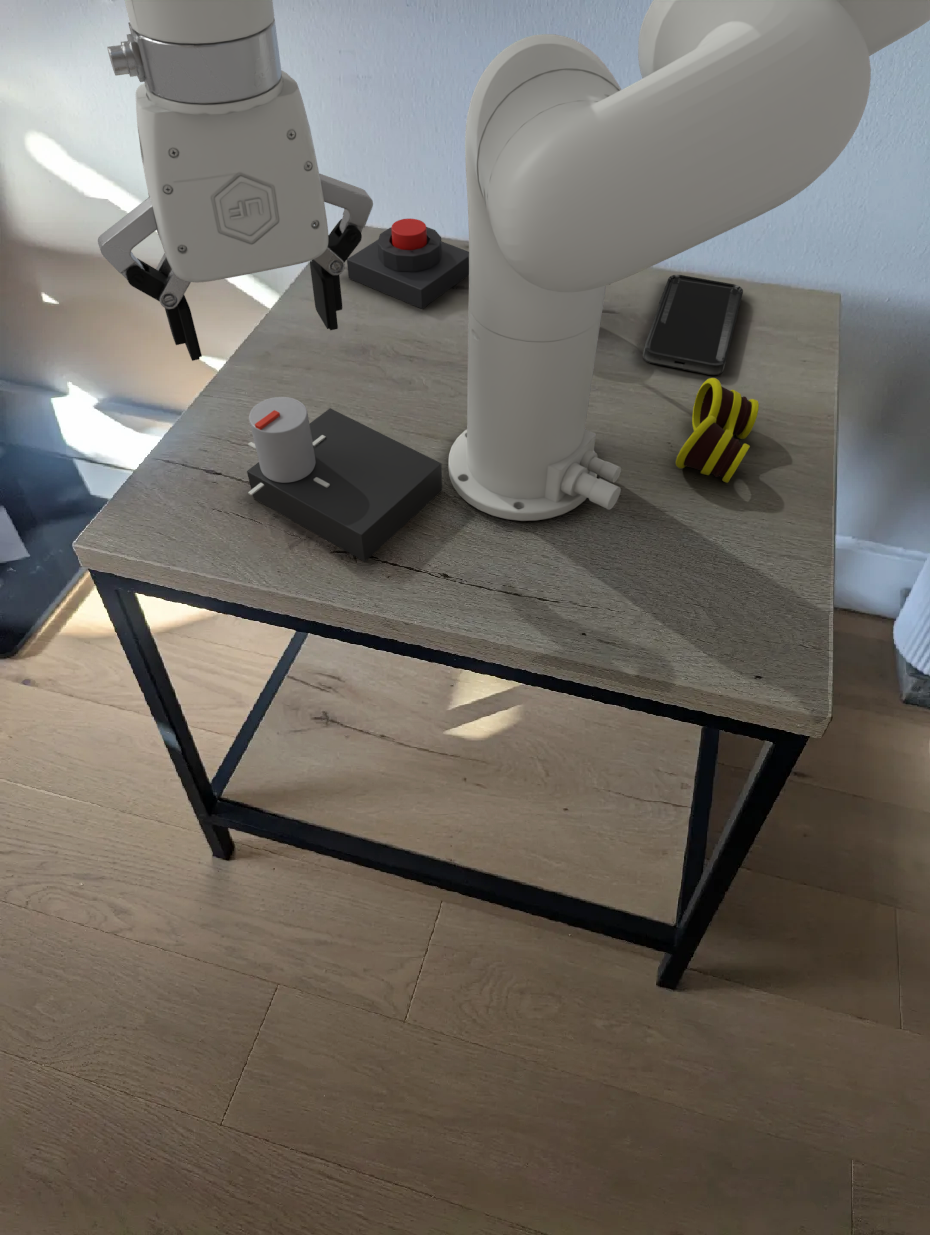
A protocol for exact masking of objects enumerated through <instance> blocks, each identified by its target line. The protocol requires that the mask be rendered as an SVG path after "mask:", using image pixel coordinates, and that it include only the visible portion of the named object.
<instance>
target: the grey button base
mask: <svg viewBox="0 0 930 1235" xmlns="http://www.w3.org/2000/svg"><path fill="white" fill-rule="evenodd" d="M426 231H427V244H426V246H424V247H423V248H420V249H415V250H401V249H399V248H396V247H394V246H393V244H392V229H391V227H389V228H387V229H386V230H384V231H382V232H380V233H379V236H378V238H377V239H376V240H375V241H372V242H371V243H370V244H369V245H367V246H365V247H363V248H362V249H361V250H359V251H358V252H356V253H354V254H353V255H350V256H349V257H348V259H347V260H346V264H347V274H348V275H347V276H348V279H349V280H352V281H354V282H357V283H358V284H361V285H363V286H366V287H368V288H371V289H374V290H375V291H378V292H379V293H383V294H385V295H388V296H390V297H392V298H394V299H397V300H400V301H402V302H404V303H407V304H409V305H411V306H414V307H416V308H419V309H422V310H423V309H425V307H428V306H429V305H430V304H431V303H432V302H434V301H435V300H437V299H438V298H439V297H442V295H443V294H445V293H446V292H448V291H449V290H450V289H452V288H453V287H454V286H456V285H457V284H459V283H460V282H462V281H463V280H464V279H466V278H467V277H469V250H466V249H463V248H461V247H458V246H454V245H452V244H450V243H447V242H445V241H442V236H441V234H439V233H438V231H437V230H436V229H434V228H431V227H428V226H426Z"/></svg>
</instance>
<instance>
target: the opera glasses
mask: <svg viewBox="0 0 930 1235" xmlns="http://www.w3.org/2000/svg"><path fill="white" fill-rule="evenodd" d="M759 407H760V404H759V401H758V400H757V399H754V398H750V399H748V398H747V396H742V394H741V393H740V392H738V391H737V390H735V389H727V388H726V387H724V386H722V383H721V382H720V380H719V379H717V378H715V377H709V378H707V379H706V380H705V381H704V382H703V383H702V384H701V386H700V387H699V389H698V391H697V392H696V397H695V399H694V404H693V408H692V415H691V426H692V429H693V432H692V433H691V435H690V436H689V437H688V438H687V440H686V441H685V442H684V444H683V445H682V447H681V448H680V450H679V452H678V454H677V456H676V459H675V466H676V467H677V468H678V469H684V468H685V467H688V468H692V469H695V470H698V471H700V474H702V475H706V476H710V474H711V475H713V476H714V477H715V478H718V477H720V478H722V481H723V482H724V483H726V484H728V483H729V482H730V480H731V478H732V477H733V476H734V474H735V473H736V470H737V469H738V467H740V464H741V462H742V460H743V459H744V457H745V456H746V454H747V453H748V450H749V449H750V447H751V446H750V445H749V444H747V443H743V444H741V443H740V440H745V439H747V437H748V436H749V435H750V433H751V432H752V430H753V428H754V426H755V423H756V420H757V417H758V413H759V410H760V409H759ZM734 436H736V438H735V437H734ZM739 439H740V440H739Z"/></svg>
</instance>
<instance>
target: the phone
mask: <svg viewBox="0 0 930 1235" xmlns="http://www.w3.org/2000/svg"><path fill="white" fill-rule="evenodd" d="M743 294H744V289H743V288H742V287H741V286H740V285H737V284H734V283H728V282H724V281H717V280H712V279H708V278H707V279H706V278H700V277H695V276H690V275H685V274H673V275H670V276H669V277H668V279H667V281H666V284H665V286H664V288H663V291H662V294H661V297H660V299H659V302H658V307H657V310H656V312H655V315H654V317H653V321H652V324H651V326H650V329H649V332H648V335H647V338H646V340H645V344H644V348H643V352H642V358H643V360H644V361H645V362H647V363H649V364H653V365H657V366H661V367H667V368H673V369H677V370H681V371H688V372H694V373H698V374H703V375H708V376H718V375H721V374H722V373H723V372H724V370H725V366H726V364H727V359H728V354H729V350H730V347H731V346H730V345H731V342H732V338H733V334H734V331H735V326H736V322H737V319H738V314H739V311H740V307H741V303H742V298H743Z"/></svg>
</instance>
